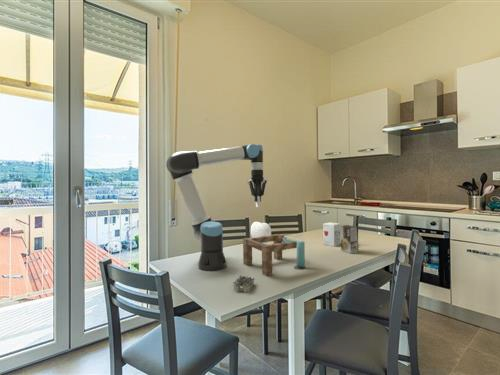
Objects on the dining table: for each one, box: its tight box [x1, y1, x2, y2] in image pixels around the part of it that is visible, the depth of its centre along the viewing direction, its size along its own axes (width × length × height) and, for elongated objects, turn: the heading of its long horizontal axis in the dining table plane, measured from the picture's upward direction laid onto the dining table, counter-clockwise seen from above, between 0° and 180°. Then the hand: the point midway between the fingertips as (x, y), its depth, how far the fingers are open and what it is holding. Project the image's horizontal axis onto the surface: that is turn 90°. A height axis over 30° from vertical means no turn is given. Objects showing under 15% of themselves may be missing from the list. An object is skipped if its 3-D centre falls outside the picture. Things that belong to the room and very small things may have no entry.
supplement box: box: [322, 222, 342, 247], centre depth 194 cm, size 9×9×15 cm
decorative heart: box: [250, 221, 272, 245], centre depth 191 cm, size 18×11×17 cm, turn 38°
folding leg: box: [282, 236, 306, 267], centre depth 149 cm, size 16×4×13 cm, turn 32°
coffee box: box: [340, 224, 359, 254], centre depth 174 cm, size 9×6×16 cm
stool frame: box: [242, 233, 307, 277], centre depth 147 cm, size 25×25×14 cm
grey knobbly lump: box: [232, 274, 256, 293], centre depth 118 cm, size 11×8×4 cm
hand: (257, 206), depth 174 cm, fingers closed
